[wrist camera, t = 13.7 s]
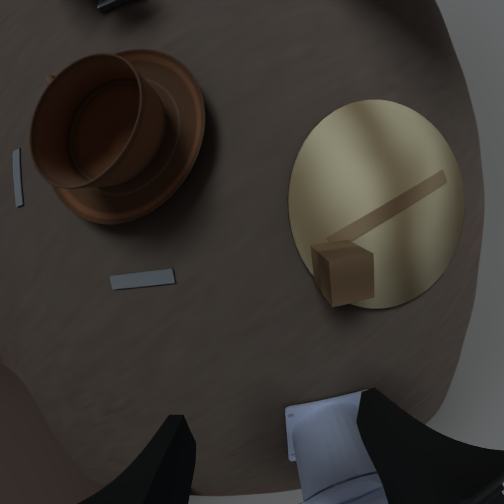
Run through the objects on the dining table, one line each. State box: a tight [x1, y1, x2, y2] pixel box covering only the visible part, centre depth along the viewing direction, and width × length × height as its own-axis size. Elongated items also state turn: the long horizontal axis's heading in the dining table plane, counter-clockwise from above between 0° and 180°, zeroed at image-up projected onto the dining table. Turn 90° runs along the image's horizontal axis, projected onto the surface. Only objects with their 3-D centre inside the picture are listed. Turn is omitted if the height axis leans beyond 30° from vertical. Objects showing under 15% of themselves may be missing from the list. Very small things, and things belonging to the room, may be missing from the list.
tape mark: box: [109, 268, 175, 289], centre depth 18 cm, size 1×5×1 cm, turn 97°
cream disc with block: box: [288, 100, 465, 309], centre depth 15 cm, size 15×15×5 cm
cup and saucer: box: [29, 49, 205, 225], centre depth 13 cm, size 12×12×6 cm
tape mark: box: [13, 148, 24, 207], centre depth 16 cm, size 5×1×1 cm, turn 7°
